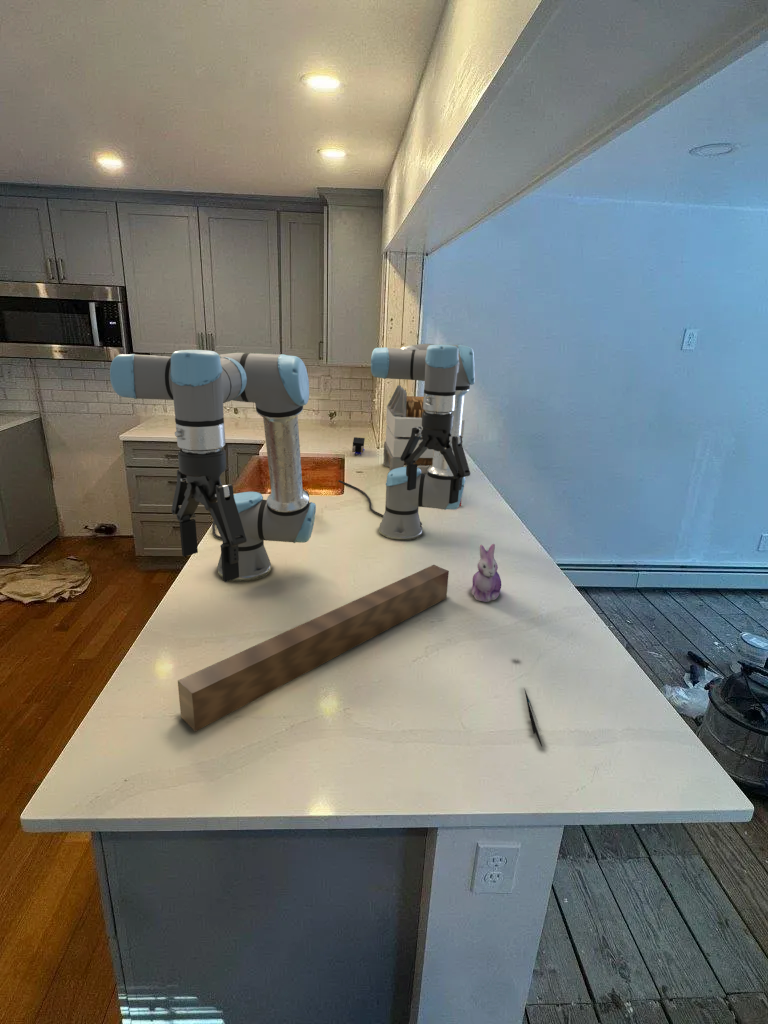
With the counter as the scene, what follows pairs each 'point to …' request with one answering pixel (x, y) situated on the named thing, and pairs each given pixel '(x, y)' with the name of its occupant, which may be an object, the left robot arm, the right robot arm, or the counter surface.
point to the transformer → (404, 428)
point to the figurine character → (358, 445)
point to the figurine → (486, 576)
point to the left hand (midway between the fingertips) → (209, 566)
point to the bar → (304, 647)
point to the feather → (532, 718)
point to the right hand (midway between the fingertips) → (431, 495)
